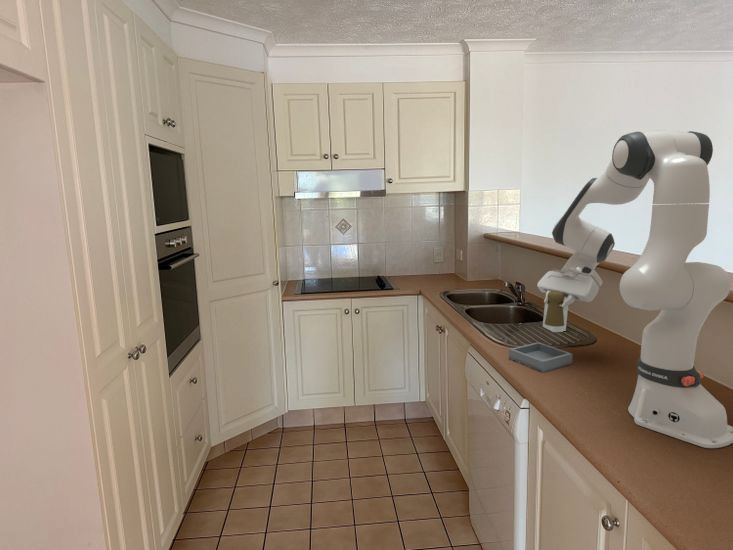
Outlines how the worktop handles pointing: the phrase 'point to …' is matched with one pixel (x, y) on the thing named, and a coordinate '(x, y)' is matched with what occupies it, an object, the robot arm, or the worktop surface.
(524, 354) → the tray
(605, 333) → the worktop surface
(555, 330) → the skincare box
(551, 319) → the cork
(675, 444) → the worktop surface
